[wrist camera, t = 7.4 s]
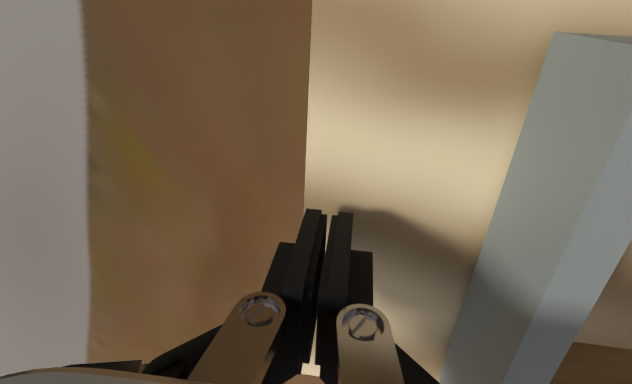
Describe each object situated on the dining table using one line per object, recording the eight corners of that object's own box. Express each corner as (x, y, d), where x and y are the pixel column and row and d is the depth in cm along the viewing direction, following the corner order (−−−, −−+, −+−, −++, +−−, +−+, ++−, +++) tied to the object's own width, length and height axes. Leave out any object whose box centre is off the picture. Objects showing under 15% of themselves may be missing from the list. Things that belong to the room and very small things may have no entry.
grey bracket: (554, 31, 10) (659, 49, 6) (726, 42, 9) (944, 67, 6) (439, 375, 16) (457, 477, 13) (535, 390, 16) (581, 498, 13)
